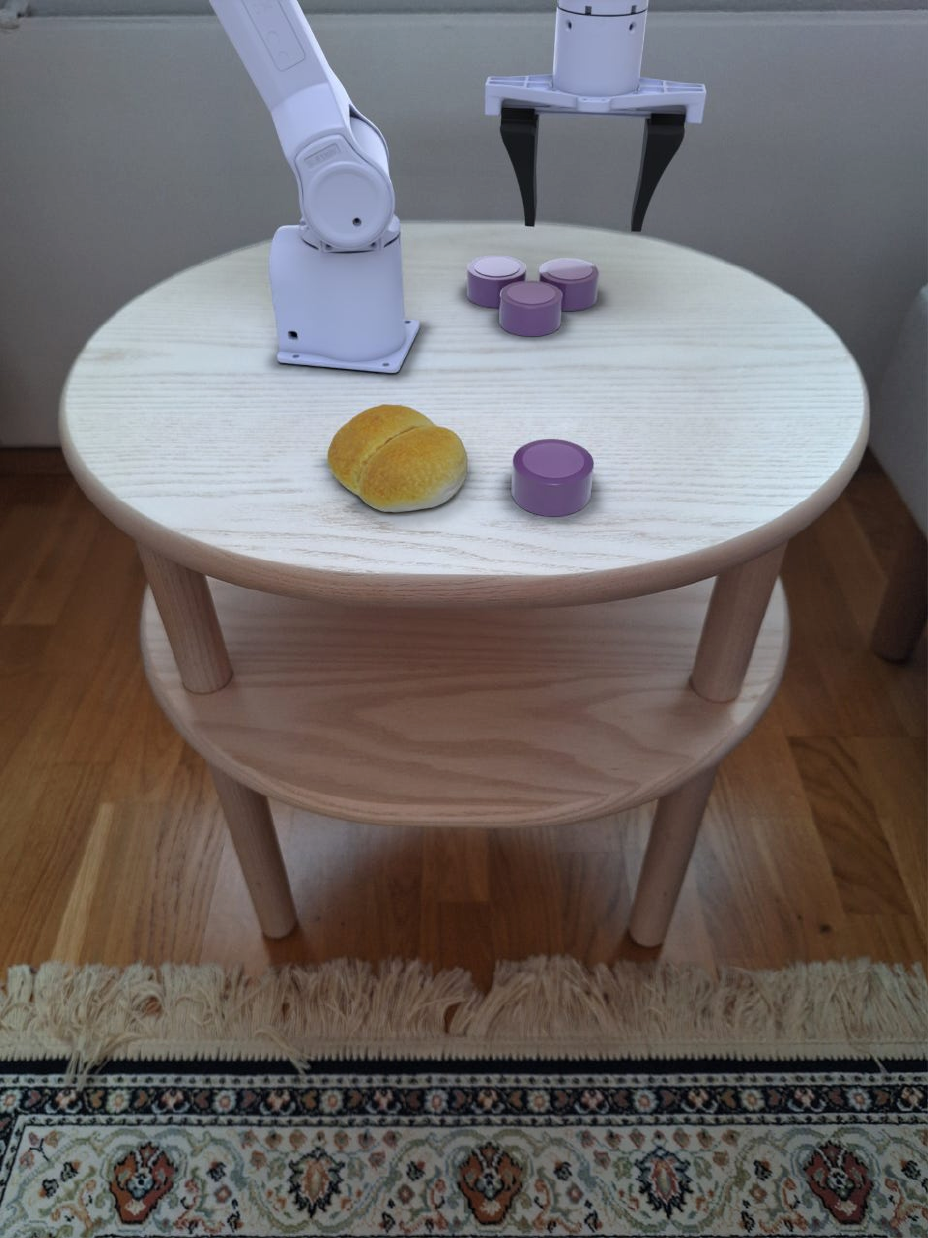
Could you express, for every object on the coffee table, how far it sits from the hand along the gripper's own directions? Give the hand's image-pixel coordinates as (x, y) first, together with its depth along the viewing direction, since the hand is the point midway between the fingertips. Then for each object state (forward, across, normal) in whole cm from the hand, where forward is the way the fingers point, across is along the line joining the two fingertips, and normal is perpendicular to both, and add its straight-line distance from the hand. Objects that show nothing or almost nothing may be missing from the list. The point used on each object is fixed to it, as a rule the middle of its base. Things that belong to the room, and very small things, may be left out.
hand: (582, 223), depth 69 cm
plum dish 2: (+9, -1, +7) cm, 11 cm away
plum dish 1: (+9, -4, +2) cm, 10 cm away
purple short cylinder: (+9, -7, +7) cm, 13 cm away
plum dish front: (+9, -1, -21) cm, 23 cm away
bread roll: (+9, -11, -21) cm, 25 cm away
